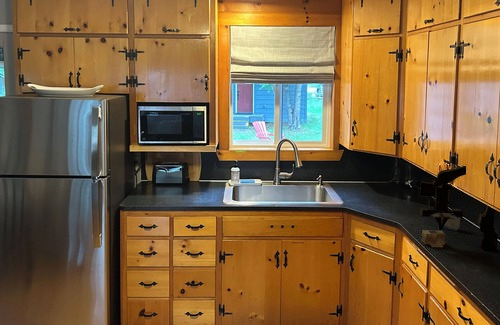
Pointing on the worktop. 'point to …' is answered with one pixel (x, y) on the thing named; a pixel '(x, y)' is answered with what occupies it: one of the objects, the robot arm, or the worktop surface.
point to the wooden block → (433, 237)
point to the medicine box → (452, 223)
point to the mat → (436, 245)
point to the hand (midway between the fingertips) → (439, 230)
